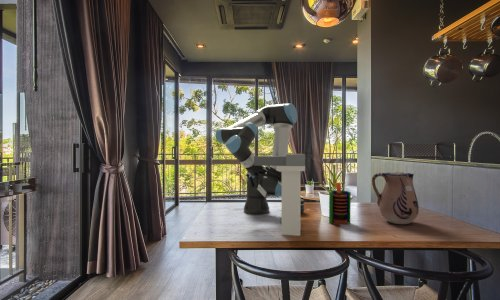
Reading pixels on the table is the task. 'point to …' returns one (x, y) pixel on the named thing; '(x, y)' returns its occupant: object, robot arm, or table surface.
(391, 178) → the ceramic pitcher
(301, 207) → the jar
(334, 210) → the motor
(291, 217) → the stand
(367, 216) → the table surface
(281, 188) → the robot arm
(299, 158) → the bar
